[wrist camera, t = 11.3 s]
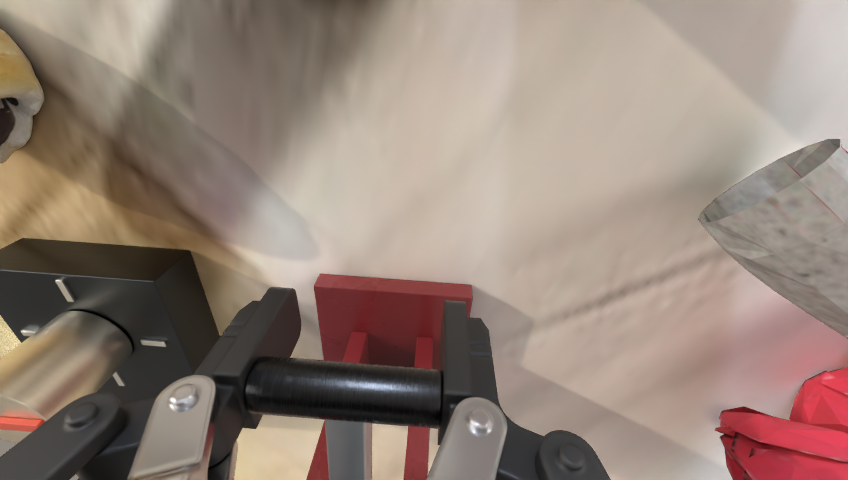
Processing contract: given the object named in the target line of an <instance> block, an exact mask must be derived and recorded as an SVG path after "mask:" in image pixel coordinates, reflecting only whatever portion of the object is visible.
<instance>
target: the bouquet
mask: <svg viewBox="0 0 848 480" xmlns="http://www.w3.org/2000/svg"><path fill="white" fill-rule="evenodd" d="M698 220H699V221H700V222H701V224H702V225H703V226H704V227H705V228H706V230H707V231H708V232H709V233H710V235H711V236H712V237H713V238H714V239H715V240H716V241H717V242H718V243H719V245H720V246H721V247H722V248H723V249H724V250H725V251H726V252H727V253H728V254H729V255H730V256H732V257H733V258H734V259H735V260H736V261H737V262H738V263H739V264H741V265H742V266H743V267H744V268H745V269H746V270H748V271H749V272H750V273H752V274H753V275H754V276H756V277H757V278H758V279H760V280H761V281H762V282H764V283H765V284H766V285H768V286H769V287H770V288H772V289H773V290H774V291H776V292H777V293H779V294H780V295H782V296H783V297H785V298H786V299H788V300H789V301H791V302H792V303H793V304H795V305H796V306H798V307H799V308H801V309H802V310H804V311H805V312H807V313H809V314H810V315H812V316H813V317H815V318H816V319H818V320H820V321H821V322H823V323H824V324H826V325H827V326H829V327H831V328H832V329H834V330H835V331H837V332H838V333H840V334H841V335H843V336H844V337H846V338H847V339H848V152H847V151H846V150H844V149H843V148H842V146H841V141H840V139H828V140H825V141H822V142H819V143H816V144H813V145H810V146H807V147H804V148H802V149H800V150H798V151H796V152H793V153H791V154H789V155H787V156H785V157H782V158H780V159H778V160H777V161H775V162H773V163H771V164H769V165H767V166H766V167H764V168H762V169H760V170H758V171H756V172H755V173H753V174H752V175H750V176H748V177H747V178H745V179H744V180H742V181H740V182H739V183H737V184H736V185H734V186H733V187H731V188H730V189H728V190H727V191H726V192H724V193H723V194H722V195H720V196H719V197H718V198H716V199H715V200H714V201H713V202H712V203H711V204H710V205H708V206H707V207H706V208H705V209H704V210H703V211H702V213H701V214H700V216H699V218H698ZM719 419H720V420H721V421H720V425H721V427H719V428H716V429H715V431H718V432H720V433H723V434H724V435H722V436H720V439H721V441H722V443H723V445H724V447H725V454H726V465H727V467H728V470H729V472H730V474H731V476H732V479H733V480H848V367H847V368H843V369H839V370H835V371H831V372H826V371H824V372H822V373H820V374H818V375H816V376H814V377H812V378H810V379H808V380H806V381H805V382H804V384H803V385H802V387H801V389H800V391H799V393H798V394H797V396H796V398H795V400H794V404H793V407H792V411H791V415H790V418H789V419H790V421H789V420H784V419H780V418H776V417H773V416H770V415H767V414H764V413H761V412H758V411H756V410H753V409H750V408H747V407H739V408H734V409H729V410H724V411H722V412H721V414H720V417H719Z"/></svg>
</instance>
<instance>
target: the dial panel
mask: <svg viewBox="0 0 848 480" xmlns="http://www.w3.org/2000/svg"><path fill="white" fill-rule="evenodd" d="M68 311H83V312H88V313H91V314H95V315H97V316H100V317H102V318H104V319H106V320H108V321H110V322H111V323H113V324H114V325H116V326H117V327H118V328H119V329H121V330H122V331H123V332H124V333H125V334H126V336H127V337H128V338H129V340H130V342H131V345H132V354H131V356H130V357H129V359H128V360H127V361H126V362H125V363H124V364H123V365H122V366H121V367H120V368H119V369H118V370H117V371H116V372H115V373H114V374H113V375H112V377H111V378H110V379H109V380H108V381H107V382H106V383H105V384H104V385H103V386H102V387H101V388H100V389H99V390H98V391H97V392H111V393H113V394H115V395H116V396H117V397H118V399H119V400H120V402H121V403H122V404H124V403H129V402H134V401H139V400H144V399H149V398H154V397H158V395H159V394H160V393H161V392H162V391H163V390H164V389H165V388H166V387H168V386H169V385H170V384H172V383H174V382H175V381H177V380H179V379H182V378H184V377H187V376H192V375H193V374H194V373H195V371H196V370H197V369H198V367H199V366H200V364H201V363H202V362H203V360H204V359H205V358H206V356H207V355H208V353H209V352H210V351H211V349H212V348H213V347H214V345H215V344H216V342H217V341H218V340H219V338H220V337H219V334H218V331H217V328H216V325H215V322H214V319H213V316H212V313H211V311H210V308H209V305H208V302H207V299H206V296H205V293H204V290H203V287H202V284H201V281H200V279H199V276H198V273H197V270H196V267H195V264H194V261H193V258H192V255H191V252H190V251H189V250H178V249H164V248H151V247H137V246H124V245H110V244H96V243H83V242H69V241H56V240H42V239H28V238H22V239H20V240H18V241H16V242H14V243H12V244H10V245H8V246H6V247H4V248H2V249H0V315H1V317H2V318H3V319H4V321H5V322H6V323H7V324H8V326H9V327H10V328H11V330H12V331H13V332H14V334H15V335H16V336H17V338H18V339H19V340H20V342H21V343H22V342H23V341H25V340H26V339H27V338H29V337H30V336H31V335H33V334H34V333H35V332H37V331H38V330H39V329H41V328H42V327H43V326H45V325H46V324H47V323H49V322H50V321H51V320H53V319H54V318H55V317H57V316H58V315H60V314H61V313H64V312H68Z"/></svg>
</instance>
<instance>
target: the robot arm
mask: <svg viewBox="0 0 848 480" xmlns="http://www.w3.org/2000/svg"><path fill="white" fill-rule="evenodd" d="M300 331H301V318H300V312H299V307H298V301H297V295H296V291H295V289H293V288H280V287H270V288H269V289H268V290H267V292H266V293H265V295H264V296H263V298H262V299H261V301H252V302H251V303H249V304H248V305H247V306H245V307H244V308H243V309H241V310H240V311H239V312H238V313H237V315H236V316H235V318H234V319H233V320H232V322H231V324H230V326H228V327H227V329H226V330H225V331H224V333H223V336H221V337H220V338H219V340H218V341H217V342H216V344H215V345H214V347H213V348H212V349H211V351H210V352H209V353H208V355H207V356H206V358H205V359H204V360H203V362H202V363H201V364H200V366H199V367H198V369H197V370H196V371H195V373H194V374H193V375H192V376H187V377H184V378H182V379H179V380H177V381H175V382H174V383H172V384H170V385H169V386H168V387H166V388H165V389H164V390H163V391H162V392H161V393H160V394H159V395H158V397H154V398H149V399H144V400H139V401H134V402H129V403H124V404H122V403H121V402H120V400H119V399H118V397H117V396H116V395H115V394H113V393H111V392H96V393H92V394H88V395H85V396H83V397H80V398H78V399H76V400H74V401H73V402H71V403H69V404H68V405H66V406H65V407H64V408H62V409H61V410H60V411H58V412H57V413H56V414H54V415H53V416H52V417H51V418H49V419H48V420H47V421H46V422H44V423H43V424H42V425H40V426H39V427H38V428H37V429H35V430H34V431H33V432H32V433H30V434H29V435H28V436H26V437H25V438H24V439H23V440H21V441H20V442H19V443H18V444H16V445H15V446H14V447H13V448H11V449H10V450H9V451H8V452H6V453H5V454H4V455H2V456H1V457H0V480H69V479H71V478H72V477H73V476H74V475H75V474H76V475H77V476H78V477H79V479H78V480H234V476H235V468H236V459H237V451H238V443H237V438H238V436H239V434H240V432H241V430H242V428H251V429H256V428H257V426H258V424H259V422H260V420H261V417H262V415H263V414H253V413H249V412H248V411H247V410H246V409H245V406H244V389H245V384H246V380H247V377H248V374H249V372H250V370H251V368H252V366H253V364H254V363H255V361H256V360H257V359H258V358H260V357H262V356H273V357H286V358H290V356H291V354H292V352H293V350H294V347H295V345H296V343H297V341H298V339H299V336H300ZM439 370H442V372H443V405H442V418H441V425H440V427H439V428H438V445H440V447H439V449H438V452H437V454H436V457H435V459H434V462H433V464H432V467H431V469H430V471H429V474H428V476H427V479H426V480H611V479H610V478H609V476H608V474H607V472H606V471H605V469H604V467H603V465H602V463H601V462H600V460H599V458H598V456H597V455H596V453H595V452H594V450H593V449H592V447H591V446H590V445H589V444H588V443H587V442H586V441H585V440H583V439H582V438H581V437H579V436H577V435H576V434H573V433H571V432H568V431H563V430H556V431H552V432H550V433H548V434H547V435H545V436H541V435H539V434H536V433H534V432H531V431H529V430H526V429H524V428H522V427H520V426H518V425H517V424H515V423H514V422H512V421H511V420H510V419H509V418H508V417H507V416H506V415H505V413H504V412H503V410H502V408H501V407H500V404H499V401H498V395H497V388H496V380H495V373H494V366H493V359H492V352H491V346H490V337H489V330H488V329H487V327H486V326H485V324H484V323H483V321H482V320H481V319H480V318H467V308H466V302H461V301H447V300H444V307H443V317H442V326H441V337H440V361H439Z"/></svg>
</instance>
